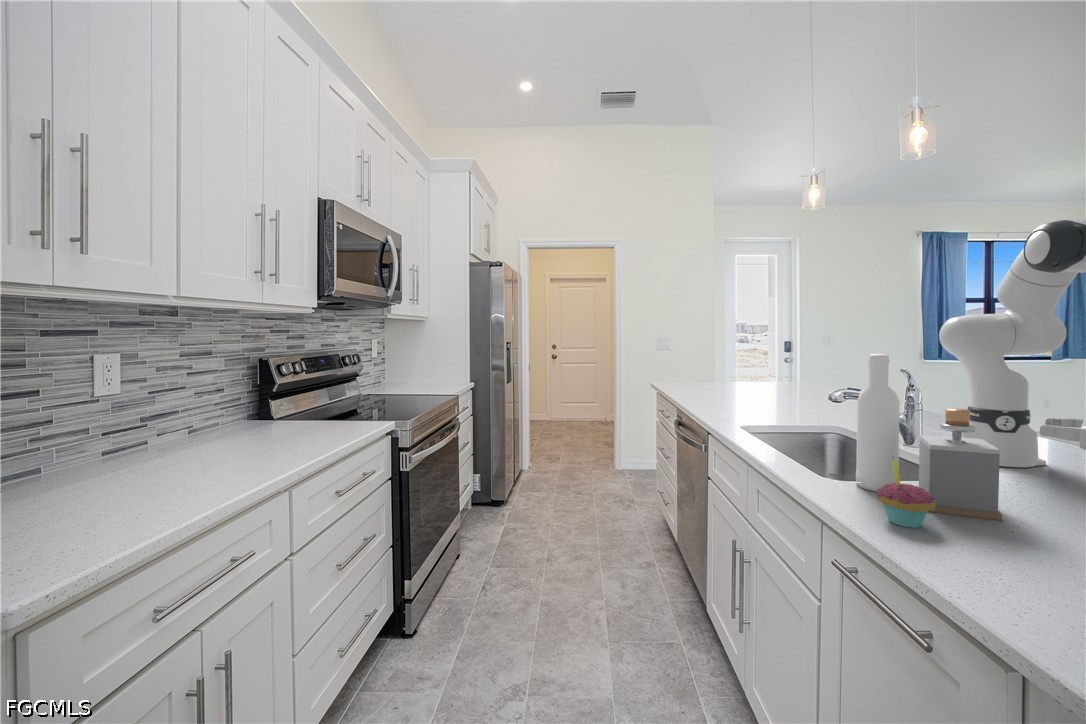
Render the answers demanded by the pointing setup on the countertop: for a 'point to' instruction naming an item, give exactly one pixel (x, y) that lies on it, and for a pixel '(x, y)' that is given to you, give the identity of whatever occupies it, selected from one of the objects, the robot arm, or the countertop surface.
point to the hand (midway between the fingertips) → (1042, 426)
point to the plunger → (957, 423)
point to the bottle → (877, 428)
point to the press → (960, 476)
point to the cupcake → (905, 502)
